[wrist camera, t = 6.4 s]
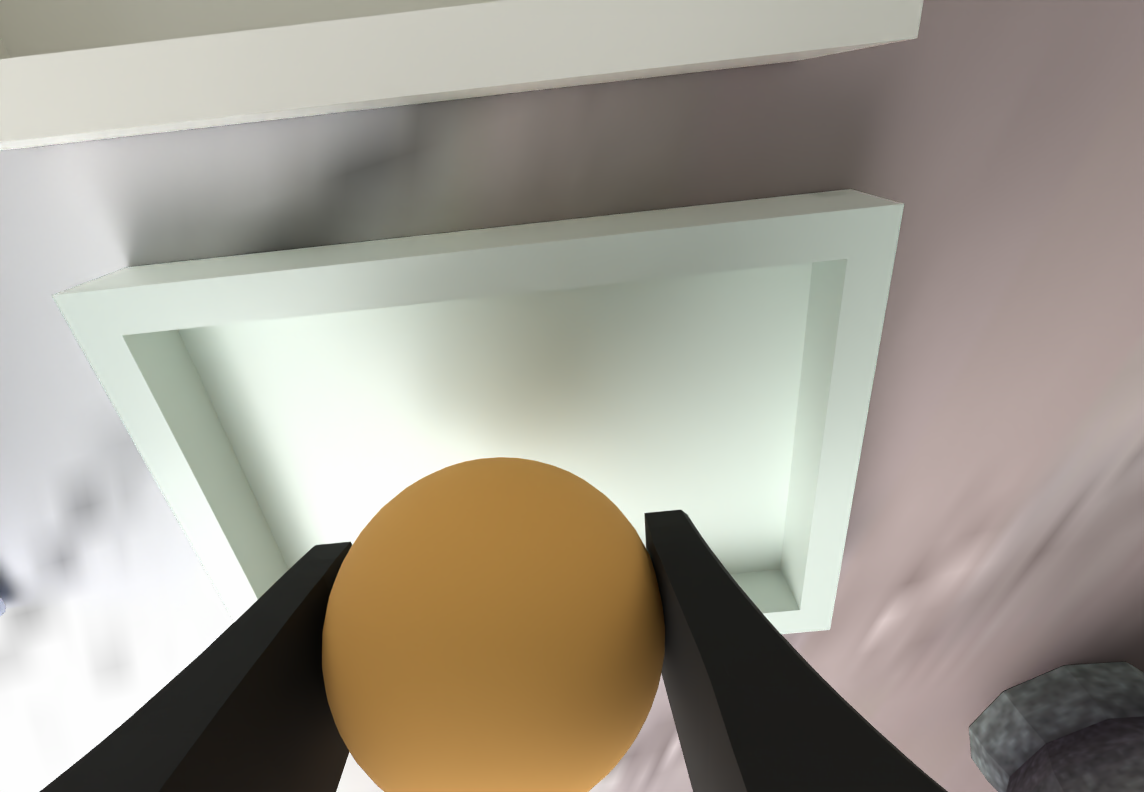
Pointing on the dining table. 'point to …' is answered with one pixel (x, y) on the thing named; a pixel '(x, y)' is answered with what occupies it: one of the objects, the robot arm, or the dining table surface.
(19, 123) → the cream open box
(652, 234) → the tray
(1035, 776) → the mortar and pestle
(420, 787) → the ball
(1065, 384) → the dining table surface
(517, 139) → the dining table surface
